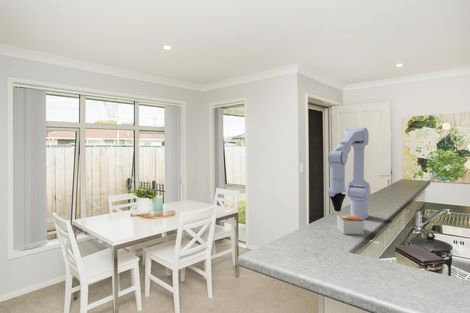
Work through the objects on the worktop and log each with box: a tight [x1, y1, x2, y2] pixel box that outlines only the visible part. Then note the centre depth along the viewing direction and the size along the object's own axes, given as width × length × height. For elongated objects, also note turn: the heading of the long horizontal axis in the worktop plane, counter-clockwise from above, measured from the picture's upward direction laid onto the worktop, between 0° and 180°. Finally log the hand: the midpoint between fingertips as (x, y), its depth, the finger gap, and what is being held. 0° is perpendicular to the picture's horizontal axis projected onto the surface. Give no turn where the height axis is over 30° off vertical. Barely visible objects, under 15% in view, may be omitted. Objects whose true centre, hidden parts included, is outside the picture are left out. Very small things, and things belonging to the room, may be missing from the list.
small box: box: [336, 214, 365, 236], centre depth 120 cm, size 8×6×10 cm
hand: (337, 211), depth 122 cm, fingers closed
